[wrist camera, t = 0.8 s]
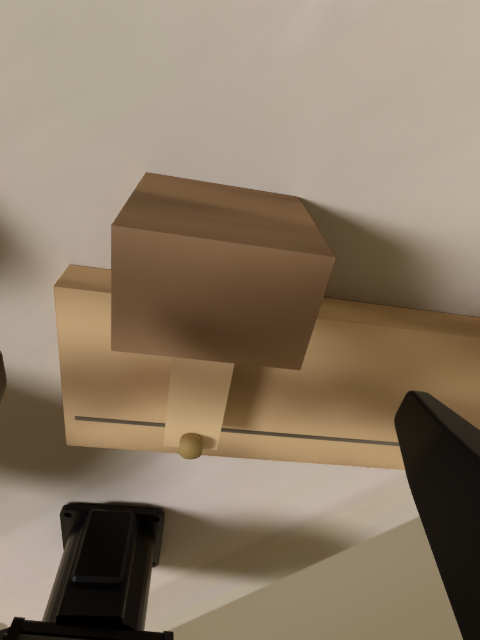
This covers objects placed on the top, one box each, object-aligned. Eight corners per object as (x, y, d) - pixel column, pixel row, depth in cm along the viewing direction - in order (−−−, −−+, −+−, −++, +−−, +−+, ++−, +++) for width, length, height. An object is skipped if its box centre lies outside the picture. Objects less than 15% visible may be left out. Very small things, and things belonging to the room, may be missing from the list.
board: (450, 446, 25) (468, 475, 23) (78, 415, 22) (65, 446, 20) (530, 324, 20) (560, 348, 18) (69, 264, 17) (53, 287, 15)
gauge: (249, 395, 22) (260, 496, 17) (136, 384, 21) (110, 487, 16) (298, 197, 16) (336, 257, 11) (145, 172, 15) (111, 225, 10)
